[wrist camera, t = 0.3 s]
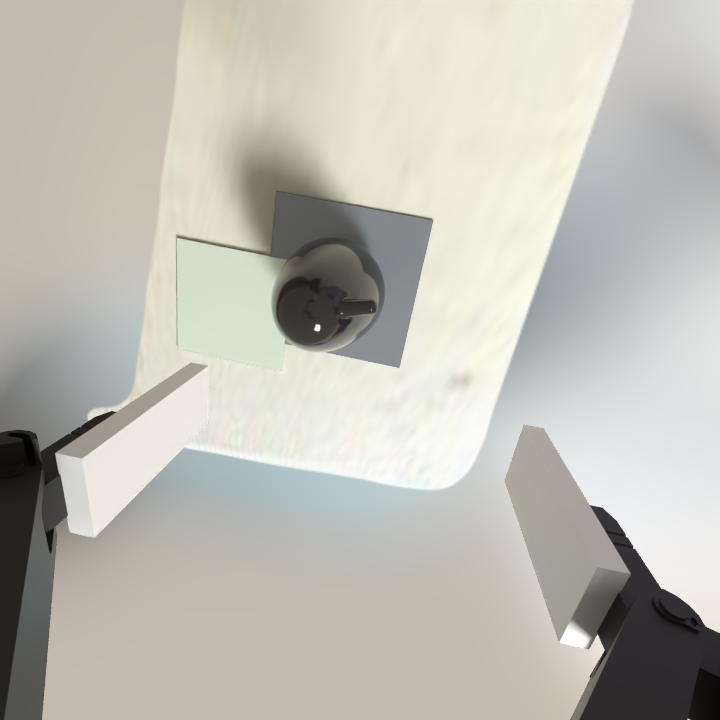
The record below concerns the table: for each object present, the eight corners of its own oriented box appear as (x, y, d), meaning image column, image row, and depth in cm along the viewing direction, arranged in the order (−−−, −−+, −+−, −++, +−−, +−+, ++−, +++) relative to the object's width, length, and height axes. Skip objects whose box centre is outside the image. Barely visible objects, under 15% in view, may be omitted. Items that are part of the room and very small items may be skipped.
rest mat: (179, 238, 42) (176, 238, 42) (294, 260, 41) (292, 261, 41) (179, 348, 47) (177, 349, 46) (282, 370, 46) (281, 371, 46)
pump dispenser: (396, 323, 42) (387, 378, 28) (306, 336, 44) (254, 394, 30) (381, 226, 39) (362, 232, 25) (284, 244, 41) (214, 260, 26)
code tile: (277, 191, 39) (276, 191, 39) (432, 220, 38) (433, 220, 38) (264, 338, 45) (263, 339, 45) (399, 367, 44) (399, 368, 44)
